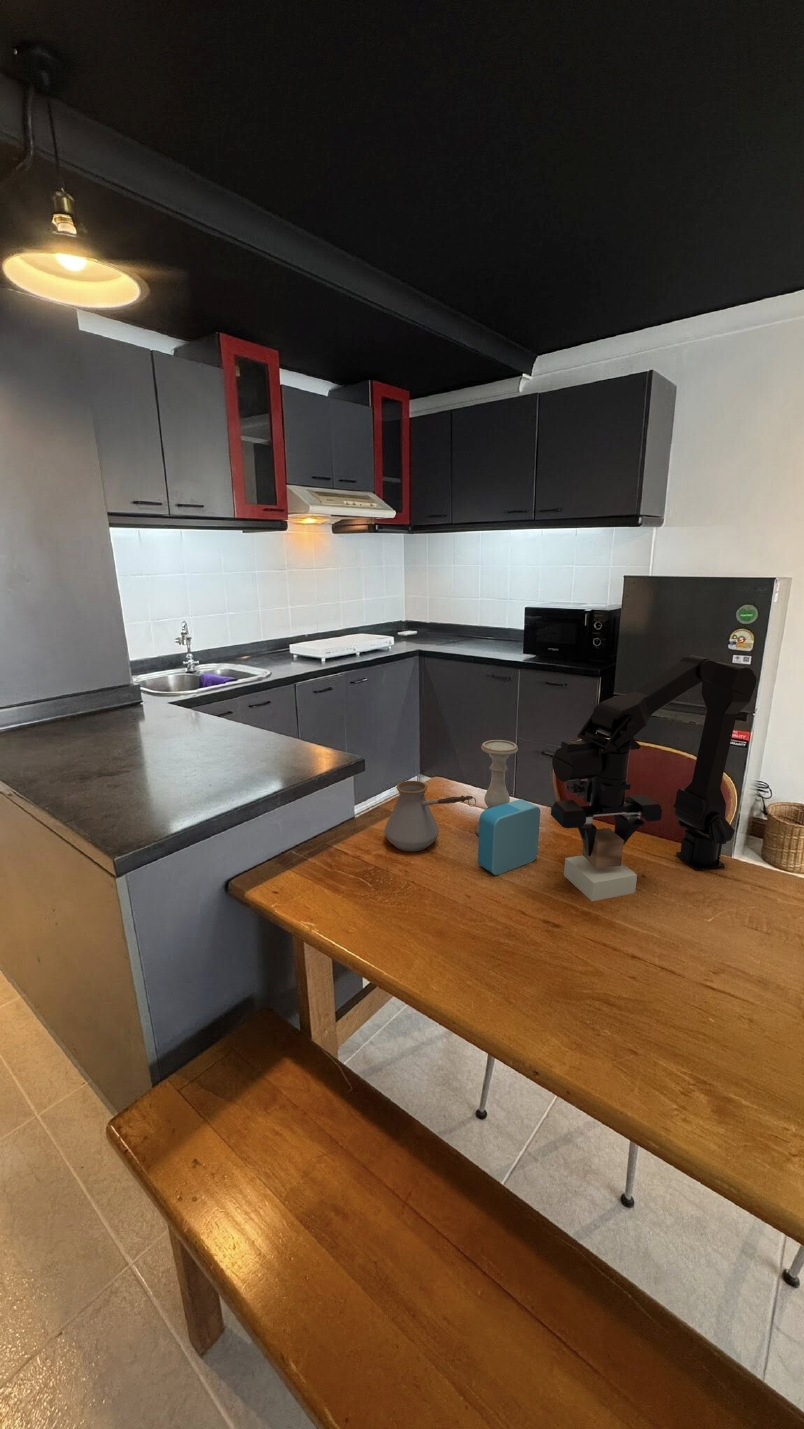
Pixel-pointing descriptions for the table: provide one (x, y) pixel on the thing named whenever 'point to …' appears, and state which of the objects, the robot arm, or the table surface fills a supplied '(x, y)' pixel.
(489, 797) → the candle holder
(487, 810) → the blue rounded slab
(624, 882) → the base block
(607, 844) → the walnut cube
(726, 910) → the table surface
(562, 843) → the table surface
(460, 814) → the table surface
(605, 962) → the table surface
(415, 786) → the coffee pot
